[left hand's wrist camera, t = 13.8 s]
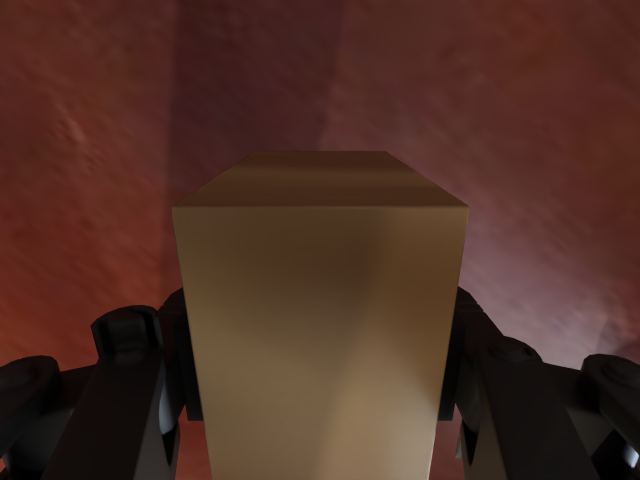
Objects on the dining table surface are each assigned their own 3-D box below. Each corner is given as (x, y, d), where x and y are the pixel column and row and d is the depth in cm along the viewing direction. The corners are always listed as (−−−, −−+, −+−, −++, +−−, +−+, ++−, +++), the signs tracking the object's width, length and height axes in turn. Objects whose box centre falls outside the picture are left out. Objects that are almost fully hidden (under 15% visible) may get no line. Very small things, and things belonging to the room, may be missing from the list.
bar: (253, 150, 13) (169, 206, 6) (385, 151, 13) (471, 206, 6) (278, 539, 21) (256, 773, 14) (361, 539, 21) (383, 773, 14)
